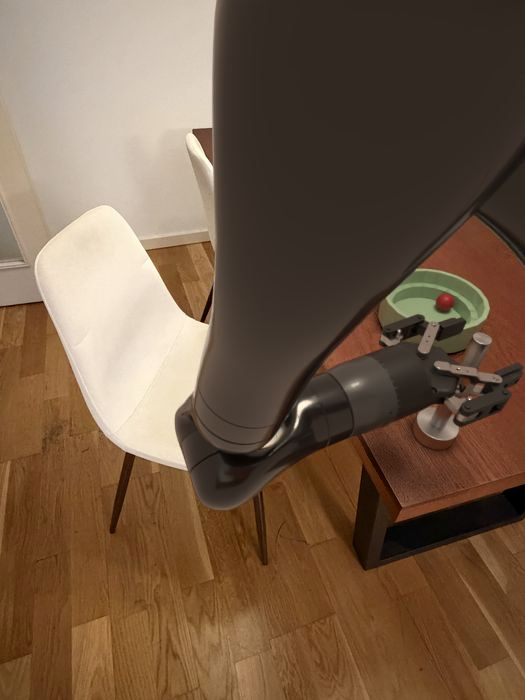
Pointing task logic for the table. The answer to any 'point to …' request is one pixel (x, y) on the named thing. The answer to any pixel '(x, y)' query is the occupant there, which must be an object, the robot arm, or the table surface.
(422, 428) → the metal tamper
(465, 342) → the bowl
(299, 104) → the robot arm
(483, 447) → the table surface
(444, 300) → the berry
